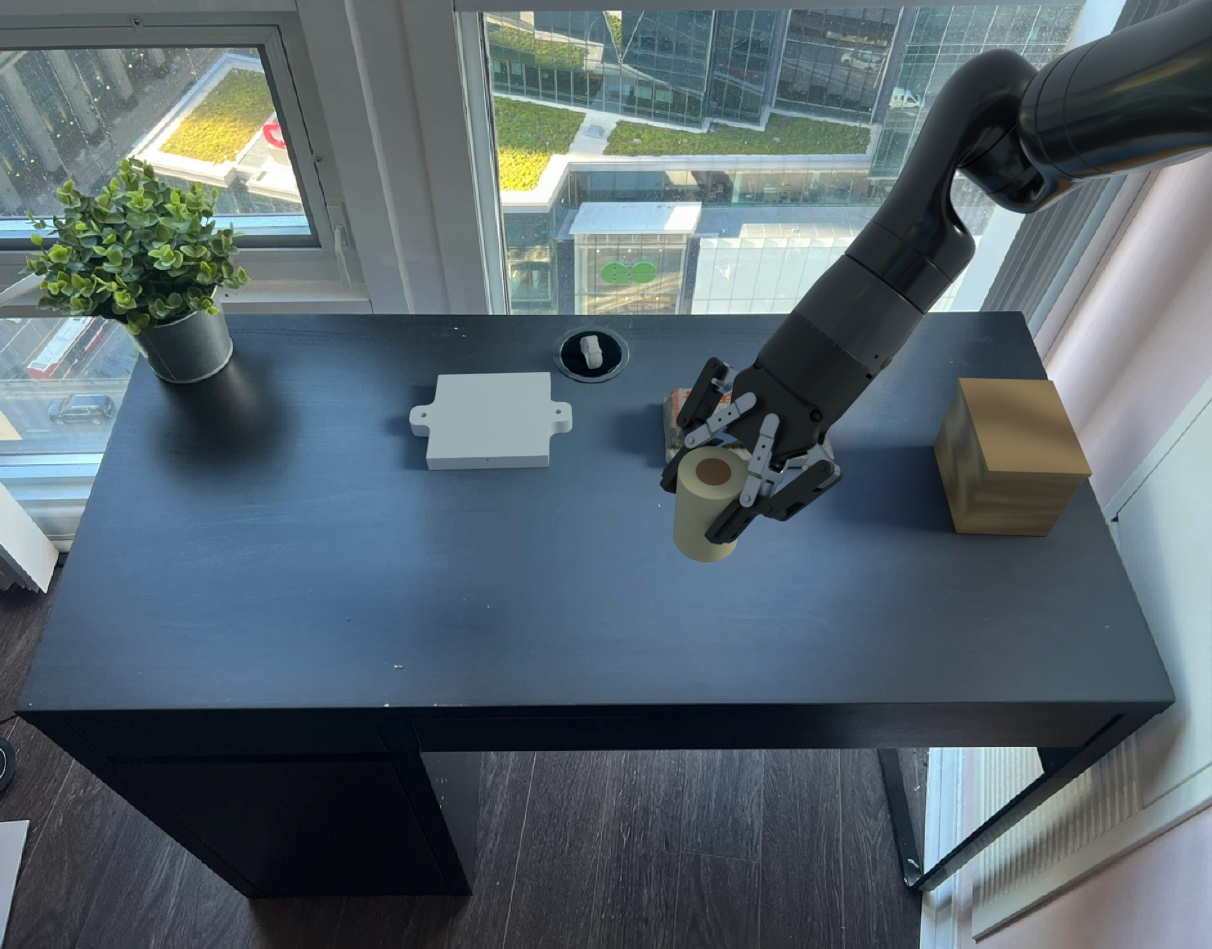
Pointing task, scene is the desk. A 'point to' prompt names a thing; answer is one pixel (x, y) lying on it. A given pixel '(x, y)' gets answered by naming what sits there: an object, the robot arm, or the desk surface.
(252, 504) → the desk surface
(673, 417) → the packaged product
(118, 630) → the desk surface
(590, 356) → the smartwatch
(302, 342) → the desk surface
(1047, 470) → the oak box
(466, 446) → the mounting plate
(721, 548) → the toilet paper roll
